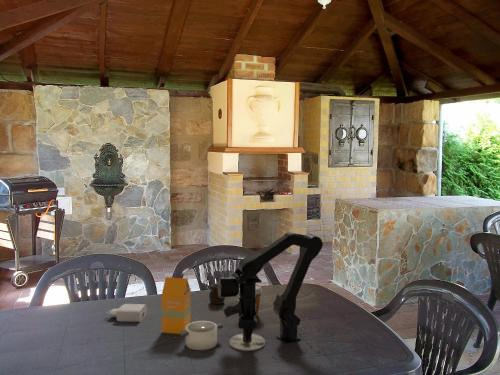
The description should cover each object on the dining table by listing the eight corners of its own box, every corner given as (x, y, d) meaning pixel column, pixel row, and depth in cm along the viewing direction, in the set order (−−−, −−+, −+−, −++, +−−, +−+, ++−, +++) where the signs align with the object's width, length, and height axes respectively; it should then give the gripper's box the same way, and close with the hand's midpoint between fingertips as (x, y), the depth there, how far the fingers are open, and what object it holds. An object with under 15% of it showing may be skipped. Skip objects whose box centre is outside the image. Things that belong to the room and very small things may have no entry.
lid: (271, 346, 159) (271, 329, 158) (240, 354, 152) (240, 336, 152) (253, 333, 169) (253, 317, 169) (223, 340, 163) (223, 324, 162)
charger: (110, 313, 189) (146, 314, 188) (102, 322, 180) (140, 323, 179) (110, 302, 189) (146, 303, 188) (102, 310, 180) (140, 311, 179)
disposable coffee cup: (261, 319, 183) (262, 290, 182) (238, 319, 184) (238, 290, 182) (261, 311, 193) (262, 283, 192) (239, 310, 193) (239, 283, 192)
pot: (228, 344, 160) (228, 327, 159) (187, 354, 152) (187, 336, 151) (214, 333, 169) (214, 317, 169) (174, 342, 161) (174, 325, 161)
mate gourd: (208, 300, 206) (208, 278, 205) (224, 300, 207) (225, 278, 206) (209, 305, 198) (210, 283, 198) (226, 305, 200) (227, 283, 199)
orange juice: (184, 334, 168) (183, 281, 166) (161, 332, 170) (161, 280, 168) (191, 326, 176) (190, 275, 174) (169, 324, 177) (169, 274, 176)
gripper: (225, 286, 169) (225, 327, 170) (223, 304, 150) (223, 349, 151) (255, 287, 169) (255, 327, 170) (257, 304, 150) (256, 349, 151)
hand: (247, 338), depth 161 cm, fingers closed on lid, 3 cm apart
